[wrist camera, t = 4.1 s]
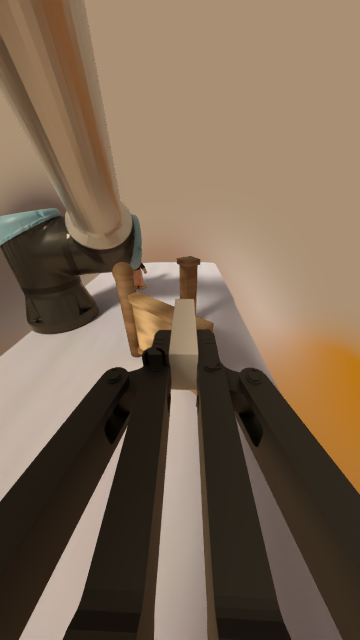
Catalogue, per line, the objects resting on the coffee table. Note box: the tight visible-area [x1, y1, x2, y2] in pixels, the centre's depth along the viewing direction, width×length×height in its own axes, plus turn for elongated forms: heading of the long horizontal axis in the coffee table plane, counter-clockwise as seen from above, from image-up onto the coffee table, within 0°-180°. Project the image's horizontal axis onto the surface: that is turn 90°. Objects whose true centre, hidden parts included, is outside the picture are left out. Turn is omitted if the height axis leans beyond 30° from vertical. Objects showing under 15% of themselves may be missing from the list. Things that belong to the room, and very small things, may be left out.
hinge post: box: [112, 262, 142, 357], centre depth 30 cm, size 3×3×17 cm
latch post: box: [177, 256, 200, 316], centre depth 39 cm, size 3×3×15 cm
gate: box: [128, 292, 213, 395], centre depth 26 cm, size 14×2×11 cm, turn 48°
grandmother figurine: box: [133, 263, 147, 289], centre depth 60 cm, size 8×4×13 cm, turn 89°
